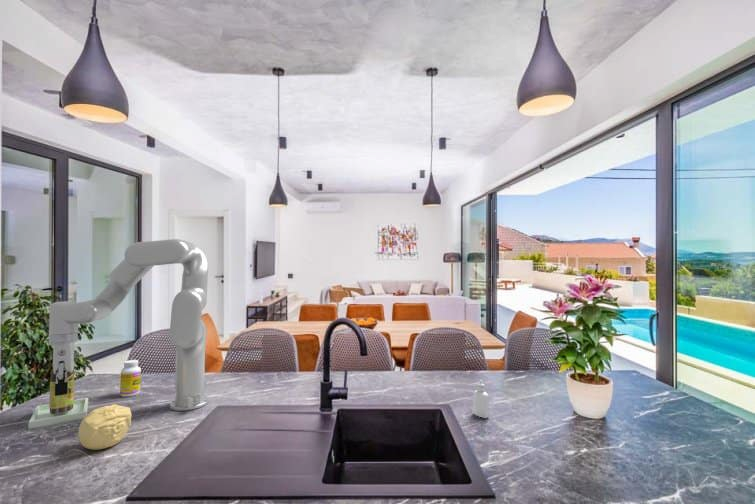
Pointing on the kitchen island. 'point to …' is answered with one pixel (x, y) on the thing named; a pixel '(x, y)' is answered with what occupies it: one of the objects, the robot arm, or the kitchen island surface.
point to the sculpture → (104, 427)
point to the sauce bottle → (61, 401)
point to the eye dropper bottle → (481, 401)
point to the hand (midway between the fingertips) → (62, 391)
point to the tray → (44, 417)
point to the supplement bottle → (130, 379)
